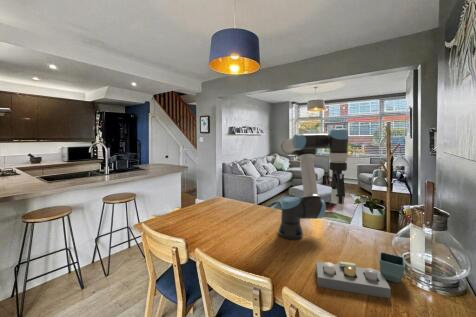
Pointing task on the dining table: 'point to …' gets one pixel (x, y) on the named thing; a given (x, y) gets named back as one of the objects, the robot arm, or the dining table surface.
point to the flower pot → (392, 267)
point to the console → (352, 281)
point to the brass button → (349, 271)
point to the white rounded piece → (329, 268)
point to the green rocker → (346, 264)
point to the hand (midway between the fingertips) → (336, 205)
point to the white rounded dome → (371, 274)
